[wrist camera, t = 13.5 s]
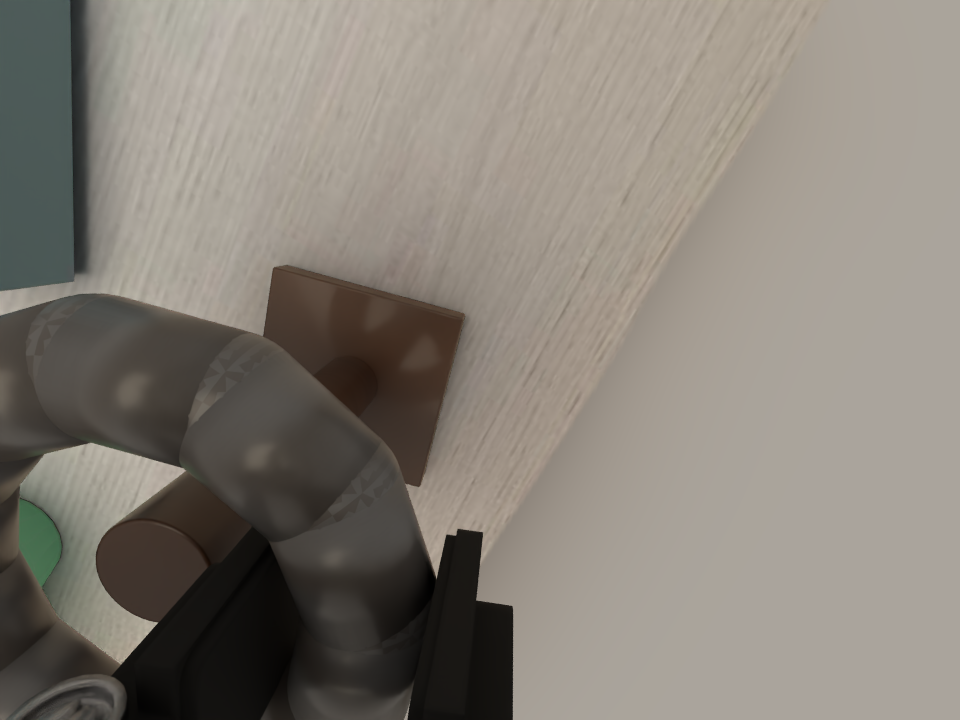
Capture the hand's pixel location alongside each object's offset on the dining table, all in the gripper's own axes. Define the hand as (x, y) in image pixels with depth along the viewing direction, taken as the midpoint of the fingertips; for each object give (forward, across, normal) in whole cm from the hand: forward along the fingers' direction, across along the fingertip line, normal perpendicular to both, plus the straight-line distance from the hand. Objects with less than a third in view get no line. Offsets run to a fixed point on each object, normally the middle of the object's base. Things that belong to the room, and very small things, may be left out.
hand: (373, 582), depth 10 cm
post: (+12, +4, 0) cm, 13 cm away
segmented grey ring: (-1, +4, 0) cm, 4 cm away
